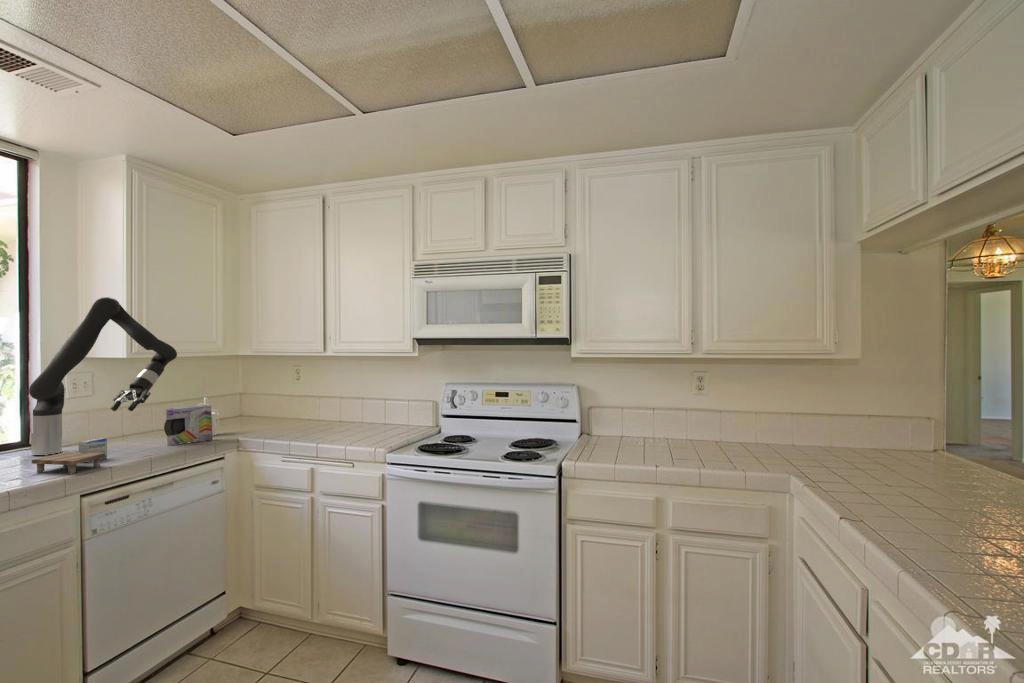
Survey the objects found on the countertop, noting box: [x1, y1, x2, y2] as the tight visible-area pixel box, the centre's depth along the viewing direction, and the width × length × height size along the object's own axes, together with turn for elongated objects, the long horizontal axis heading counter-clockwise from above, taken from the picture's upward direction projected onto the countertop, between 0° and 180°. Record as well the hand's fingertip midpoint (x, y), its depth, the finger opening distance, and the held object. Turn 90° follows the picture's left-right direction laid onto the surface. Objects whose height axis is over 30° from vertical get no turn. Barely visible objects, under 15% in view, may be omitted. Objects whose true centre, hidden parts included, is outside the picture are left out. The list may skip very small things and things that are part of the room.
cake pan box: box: [163, 404, 214, 446], centre depth 228 cm, size 19×5×18 cm, turn 123°
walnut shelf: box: [31, 451, 105, 475], centre depth 180 cm, size 18×12×5 cm, turn 81°
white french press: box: [196, 396, 220, 437], centre depth 246 cm, size 10×9×20 cm
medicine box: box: [78, 437, 108, 463], centre depth 194 cm, size 8×4×9 cm, turn 170°
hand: (121, 410), depth 207 cm, fingers open, 8 cm apart
